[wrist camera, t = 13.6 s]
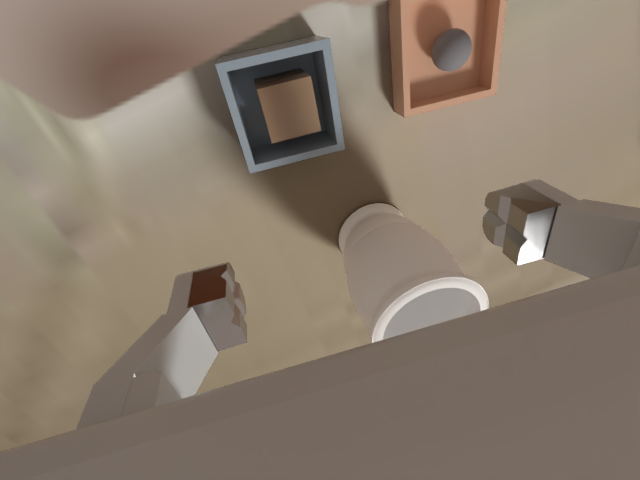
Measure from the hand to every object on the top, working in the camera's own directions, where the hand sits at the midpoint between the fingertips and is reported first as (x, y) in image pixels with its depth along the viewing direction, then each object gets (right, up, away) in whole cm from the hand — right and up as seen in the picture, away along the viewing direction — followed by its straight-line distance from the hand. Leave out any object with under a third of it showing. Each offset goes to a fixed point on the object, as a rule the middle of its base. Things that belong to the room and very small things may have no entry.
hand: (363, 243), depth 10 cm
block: (-5, +12, +19) cm, 23 cm away
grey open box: (-5, +13, +19) cm, 24 cm away
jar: (+5, +1, +30) cm, 30 cm away
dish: (+9, +17, +20) cm, 28 cm away
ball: (+9, +17, +19) cm, 28 cm away
